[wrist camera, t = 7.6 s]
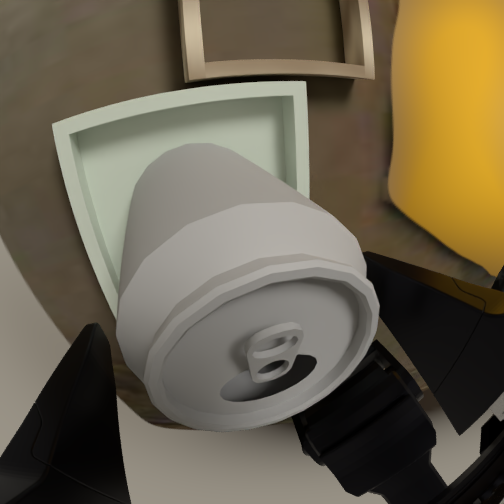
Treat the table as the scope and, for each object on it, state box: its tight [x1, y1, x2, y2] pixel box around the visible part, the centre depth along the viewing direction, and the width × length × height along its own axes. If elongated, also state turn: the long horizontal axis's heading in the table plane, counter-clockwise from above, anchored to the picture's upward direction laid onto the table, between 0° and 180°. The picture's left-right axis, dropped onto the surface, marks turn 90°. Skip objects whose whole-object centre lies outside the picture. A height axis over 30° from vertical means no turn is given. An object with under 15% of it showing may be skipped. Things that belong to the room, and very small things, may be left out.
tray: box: [52, 81, 309, 320], centre depth 16 cm, size 13×13×2 cm
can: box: [116, 143, 380, 432], centre depth 11 cm, size 8×8×12 cm
